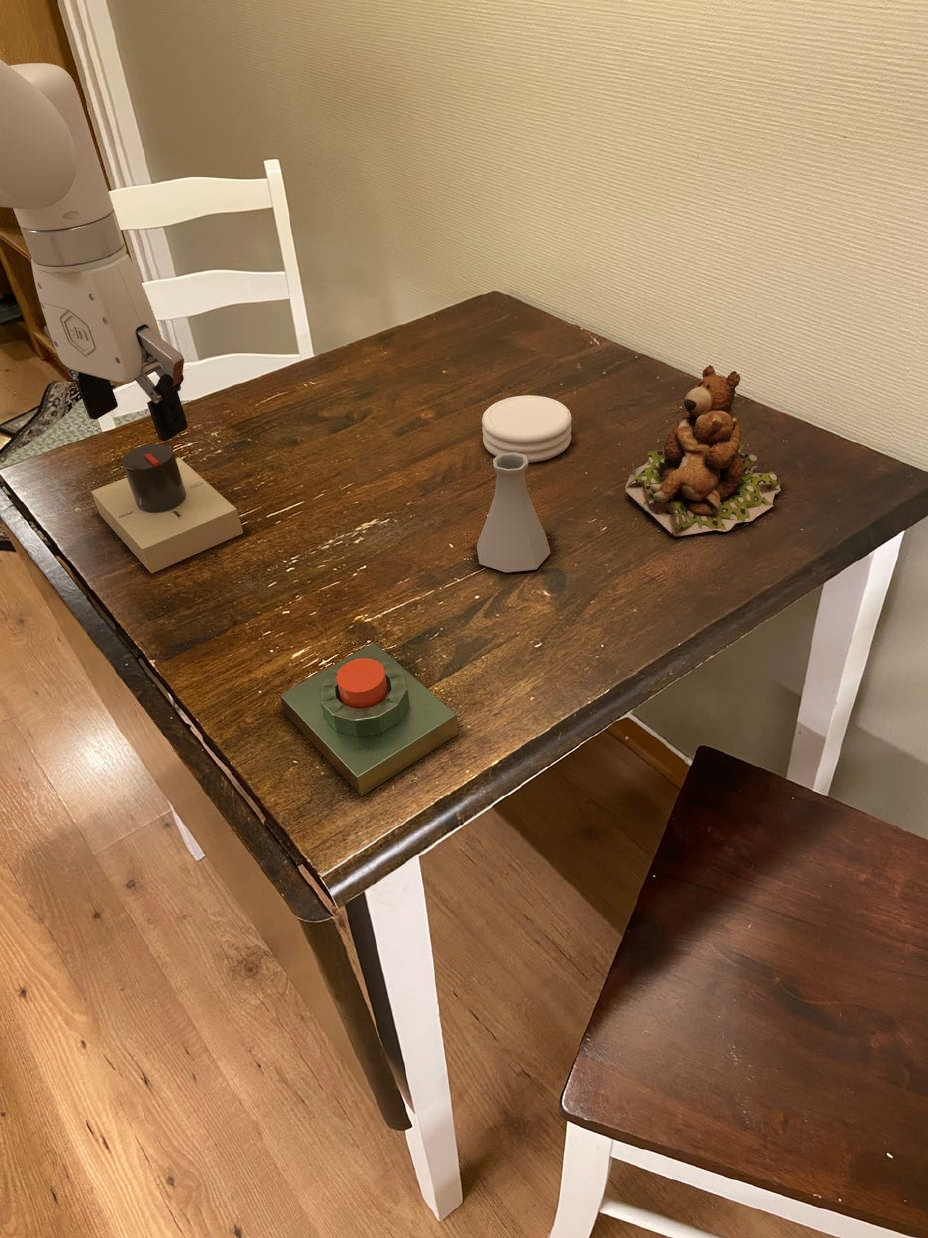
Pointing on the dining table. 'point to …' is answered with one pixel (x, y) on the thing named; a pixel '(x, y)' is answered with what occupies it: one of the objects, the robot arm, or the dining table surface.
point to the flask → (512, 521)
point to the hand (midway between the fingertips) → (138, 423)
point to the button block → (370, 722)
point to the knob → (154, 478)
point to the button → (362, 683)
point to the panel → (169, 521)
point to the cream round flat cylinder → (527, 427)
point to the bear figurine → (704, 467)
